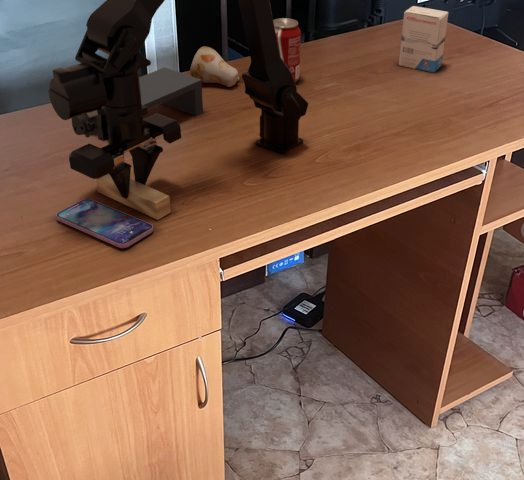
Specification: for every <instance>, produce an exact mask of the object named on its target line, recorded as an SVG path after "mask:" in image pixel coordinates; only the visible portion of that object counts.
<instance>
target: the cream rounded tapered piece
mask: <svg viewBox="0 0 524 480" xmlns="http://www.w3.org/2000/svg"><path fill="white" fill-rule="evenodd" d="M189 73H190V76H192V77H195V78H198V79H201V80H202V83H206V84H220V85H223V86H225V87H228V88H231V87H234V85H236V84H237V82H239V81H240V77H239V72H238V70H237V68H235V67H234V66H232V65H229V64H228V63H227V62H226V61H225V60H224V59H223V57H222V56H221V55H220V54H219V53H218V52H217V51H216V50H215V49H214V48H212V47H209V46H201V47H200V48H198V50H197V51H196V52H195V54H194V55H193V59H192V62H191V65H190V69H189Z"/></svg>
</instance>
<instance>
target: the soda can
mask: <svg viewBox="0 0 524 480" xmlns="http://www.w3.org/2000/svg"><path fill="white" fill-rule="evenodd" d="M273 22H274V28H275V33H276V38H277V43H278V48H279V54H280V57H281V58H282V60H283V61H284V63H285V64H286V66H287V67H288V68H289V70H290V71H291V73H292V76H293V78H294V81H295V83H296V82H298V81H299V79H300V71H301V68H300V67H301V46H302V45H301V41H302V31H301V29H300V27H299V22H298V20H297V19H294V18H287V17H285V18H284V17H281V18H275V19H273Z"/></svg>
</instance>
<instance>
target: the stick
mask: <svg viewBox="0 0 524 480" xmlns="http://www.w3.org/2000/svg"><path fill="white" fill-rule="evenodd" d="M95 182H96V189H97V192H98V193H100V194H101V195H104V196H106V197H108V198H109V199H112V200H114V201H116V202H118V203H121V204H122V205H125V206H126V207H129V208H132V209H133V210H136V211H138V212H139V213H141V214H144V215H146V216H148V217H150V218H152V219H155V220H157V221H158V220H160V219H162V218H164V217H165V216H167V215H169V214H170V213H171V201H170V200H171V199H170V195H169V194H166V193H164V192H161V191H159V190H157V189H154V188H152V187H151V186H148V185H147V184H145V185H144V184H141V183H139V182H137V181H135V179H132V178H130V188H129V195H128V198H127V199H125V198H123V197H122V196H121V194H120V192H119V190H118V189H117V187H116V185H115V183H114V181H113V180H112V178H111V176H110V175H109V174H107V175H105V176H103V177H101V178H99V179H95Z"/></svg>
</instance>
